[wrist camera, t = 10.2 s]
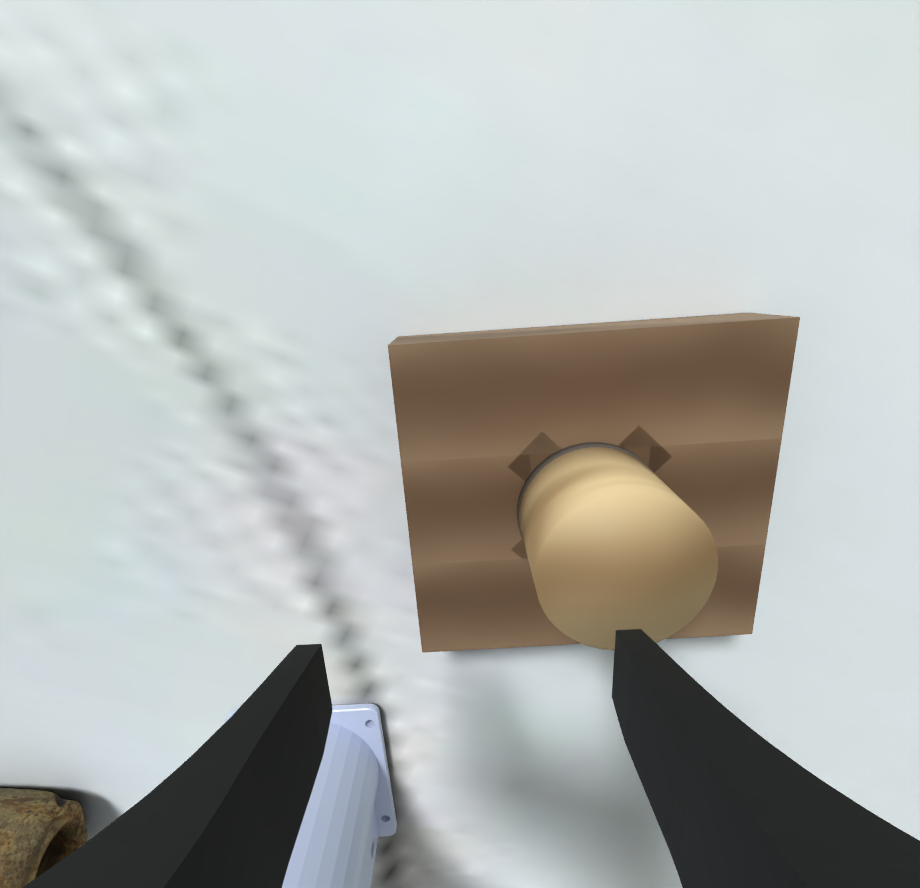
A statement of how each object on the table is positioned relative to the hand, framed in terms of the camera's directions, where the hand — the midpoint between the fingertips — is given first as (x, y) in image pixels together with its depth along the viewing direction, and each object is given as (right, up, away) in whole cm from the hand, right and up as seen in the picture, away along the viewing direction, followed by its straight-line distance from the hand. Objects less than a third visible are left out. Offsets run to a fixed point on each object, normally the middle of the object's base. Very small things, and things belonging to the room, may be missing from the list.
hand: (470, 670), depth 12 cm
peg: (+5, +4, +9) cm, 11 cm away
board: (+5, +4, +9) cm, 11 cm away
